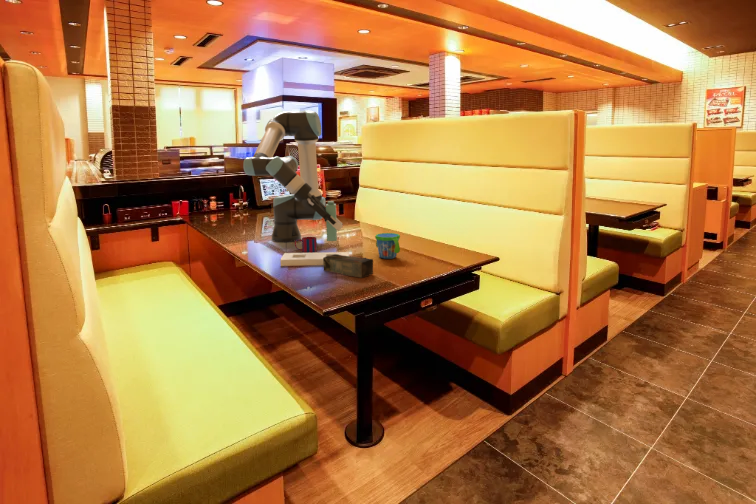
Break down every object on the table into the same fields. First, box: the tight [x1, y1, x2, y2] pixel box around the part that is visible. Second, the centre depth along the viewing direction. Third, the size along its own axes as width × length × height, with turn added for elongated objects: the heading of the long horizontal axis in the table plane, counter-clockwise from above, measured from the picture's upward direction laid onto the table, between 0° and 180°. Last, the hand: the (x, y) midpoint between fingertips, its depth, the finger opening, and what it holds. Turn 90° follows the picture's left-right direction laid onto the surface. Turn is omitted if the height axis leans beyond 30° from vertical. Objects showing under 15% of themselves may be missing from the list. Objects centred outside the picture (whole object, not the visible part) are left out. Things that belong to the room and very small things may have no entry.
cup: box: [294, 236, 318, 253], centre depth 221 cm, size 7×10×7 cm
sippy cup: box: [374, 232, 401, 260], centre depth 210 cm, size 16×10×10 cm
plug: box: [325, 200, 338, 242], centre depth 199 cm, size 4×4×16 cm
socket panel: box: [280, 251, 350, 268], centre depth 203 cm, size 12×28×3 cm, turn 93°
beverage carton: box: [322, 254, 374, 279], centre depth 187 cm, size 8×19×7 cm, turn 58°
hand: (340, 227), depth 200 cm, fingers closed on plug, 4 cm apart
